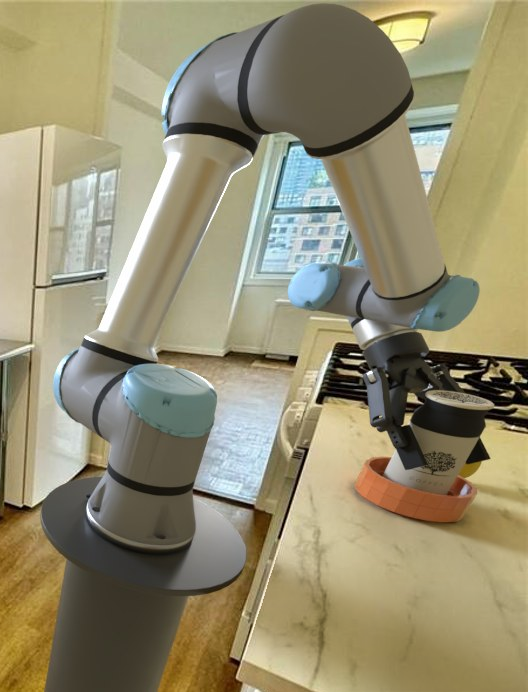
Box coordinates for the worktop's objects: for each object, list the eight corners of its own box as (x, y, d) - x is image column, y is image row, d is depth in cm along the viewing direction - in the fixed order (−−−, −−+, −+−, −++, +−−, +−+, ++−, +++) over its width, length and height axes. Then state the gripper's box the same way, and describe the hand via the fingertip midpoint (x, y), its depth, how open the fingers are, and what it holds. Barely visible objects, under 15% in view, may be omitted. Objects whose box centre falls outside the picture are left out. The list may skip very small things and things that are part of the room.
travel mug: (378, 481, 86) (425, 385, 78) (439, 499, 81) (496, 398, 73) (372, 498, 81) (422, 397, 73) (437, 517, 76) (498, 412, 68)
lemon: (459, 476, 89) (481, 437, 85) (474, 490, 84) (499, 450, 81) (420, 470, 91) (441, 432, 87) (433, 484, 87) (456, 444, 83)
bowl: (348, 501, 81) (360, 475, 79) (358, 473, 90) (369, 449, 88) (462, 535, 73) (479, 508, 70) (461, 501, 81) (476, 475, 79)
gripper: (352, 331, 76) (410, 462, 70) (472, 327, 80) (539, 451, 73) (311, 355, 83) (360, 476, 77) (423, 350, 87) (480, 465, 80)
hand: (447, 464), depth 75 cm, fingers open, 11 cm apart
